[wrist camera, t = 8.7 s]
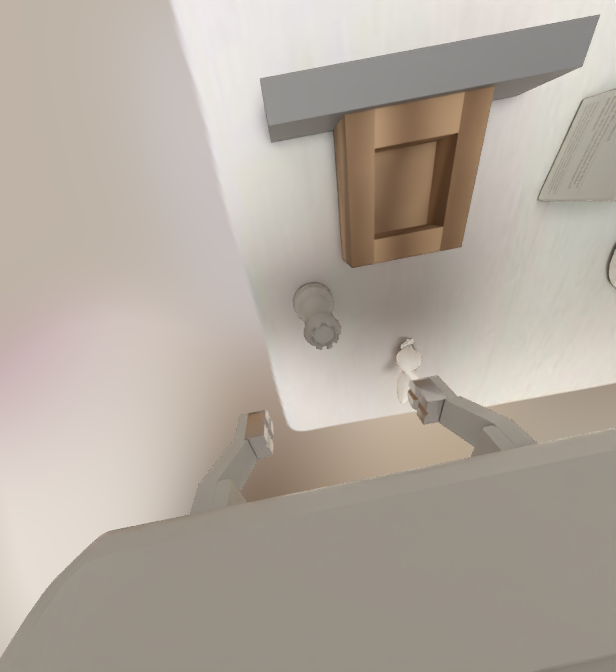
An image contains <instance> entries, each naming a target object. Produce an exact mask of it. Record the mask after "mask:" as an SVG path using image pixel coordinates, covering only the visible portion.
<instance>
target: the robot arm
mask: <svg viewBox="0 0 616 672" xmlns="http://www.w3.org/2000/svg"><path fill="white" fill-rule="evenodd" d="M609 278H610V281H611V283H612V285H613V286H614V287H616V250H615V252H614V254H613V257H612V259H611V263H610V267H609ZM408 386H409V387H410V389H409V390H408V394H407V396H408V400H409V403H410V405H411V406H412V408H414V409H415V410H417V415H418V417H419V419H420V420H421V422H422V423H423V424H430V423H436V422H439V423H440V424H442V425H443V426H444V427H446V428H448V429H449V430H450V431H452V432H453V433H455V434H456V435H458V436H459V437H461V438H462V439H464V440H465V441H467V442H468V443H470V444H471V445H472V446H474V447H475V448H474V450H473V452H472V455H471V457H469V458H464V459H460V460H455V461H450V462H445V463H440V464H435V465H430V466H425V467H420V468H416V469H411V470H406V471H401V472H396V473H391V474H386V475H381V476H376V477H371V478H366V479H362V480H357V481H352V482H347V483H342V484H337V485H333V486H327V487H322V488H318V489H313V490H308V491H303V492H299V493H293V494H288V495H283V496H278V497H274V498H269V499H264V500H259V501H254V502H249V503H247V502H246V501H245V499H244V498H243V496H242V495H241V493H240V491H241V490H242V488H243V486H244V484H245V482H246V481H247V479H248V477H249V475H250V473H251V471H252V469H253V468H254V466H255V464H256V462H257V460H258V459H259V458H263V457H267V456H271V455H273V442H272V437H273V435H274V433H273V432H274V430H273V423H272V420H271V419H270V418H269V413H268V410H263V411H258V412H252V413H247V414H241V415H240V416H239V419H238V424H237V429H236V434H235V439H234V442H232V443H231V444H230V445H229V447H227V449H226V450H225V451H224V453H223V454H222V455H221V456H220V458H219V459H218V460H217V461H216V463H215V464H214V465H213V467H212V468H211V469H210V470H209V472H208V473H207V474H206V475H205V477H204V478H203V479H202V481H201V482H200V483H199V485H198V488H197V492H196V496H195V499H194V502H193V506H192V509H191V512H190V515H185V516H181V517H176V518H171V519H166V520H161V521H156V522H151V523H146V524H141V525H137V526H131V527H126V528H121V529H116V530H112V531H109V532H106V533H104V534H102V535H101V536H100V537H98V538H97V539H96V540H95V541H94V542H93V543H92V544H90V545H89V546H88V547H87V548H86V549H85V550H84V551H83V552H82V553H81V554H80V555H79V556H78V557H77V558H76V559H75V560H74V561H73V562H72V563H71V564H70V565H69V566H68V567H67V568H66V569H65V570H64V571H63V572H62V573H60V575H58V577H57V578H56V579H55V580H54V581H53V582H52V583H51V584H50V585H49V587H48V588H47V589H46V590H45V592H44V593H43V594H42V596H41V597H40V599H39V600H38V601H37V603H36V604H35V606H34V607H33V608H32V610H31V611H30V613H29V614H28V616H27V617H26V619H25V620H24V622H23V623H22V625H21V626H20V628H19V629H18V631H17V633H16V634H15V636H14V637H13V639H12V640H11V642H10V644H9V645H8V647H7V648H6V650H5V651H4V653H3V655H2V656H1V658H0V672H616V428H611V429H606V430H602V431H597V432H591V433H587V434H582V435H577V436H572V437H567V438H562V439H557V440H552V441H548V442H543V443H537V442H536V441H535V440H534V439H533V438H532V437H531V436H530V435H529V434H528V433H526V432H525V431H524V430H523V429H522V428H521V427H520V426H519V425H518V424H517V423H516V422H515V421H514V420H512V419H509V418H507V417H505V416H503V415H501V414H498V413H496V412H494V411H492V410H490V409H487V408H485V407H483V406H481V405H478V404H476V403H474V402H472V401H470V400H467V399H465V398H463V397H461V396H459V397H457V395H456V394H455V393H454V392H453V391H452V390H451V389H450V388H449V387H448V386H447V385H446V384H445V383H444V382H443V380H442V379H441V378H440V377H439V376H437V375H436V376H431V377H426V378H421V379H416V380H412V381H410V382H409V385H408Z"/></svg>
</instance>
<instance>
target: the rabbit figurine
mask: <svg viewBox="0 0 616 672" xmlns="http://www.w3.org/2000/svg"><path fill="white" fill-rule="evenodd" d="M410 344H413V339H411V340H410V339H407V340H406V342H404V343H403V344H401V349H402V350H400V351H399V352H398V354H397V357H396V362H397V363H395V364H396V365H398V366H399V367H400V368H401V369H402V370H403V371H404V373H401V374H400V375H399V377H398V381H397V395H398V399H399V401H400V403H401V404H404V403H406V402H407V400H408V396H407V394H408V390H409V389H410V387H409V386H408V385H409V382H410V381H412V380H416V379H421V378H420V376H419V375H418V374H417V373H416V372H415V371H414V370H415V369H417V368H418V367H419V366H420V365H421V363H422V356H421V355H420V353H418V352H417V351H415V350H414V349H413V347H412V346H411V345H410ZM407 345H408V347H407ZM405 346H406V347H405ZM403 347H405V348H403Z"/></svg>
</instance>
